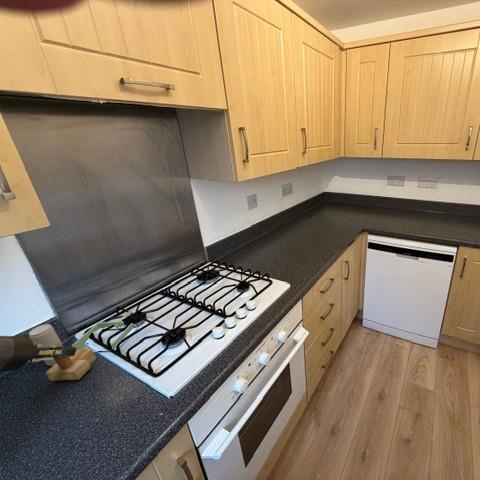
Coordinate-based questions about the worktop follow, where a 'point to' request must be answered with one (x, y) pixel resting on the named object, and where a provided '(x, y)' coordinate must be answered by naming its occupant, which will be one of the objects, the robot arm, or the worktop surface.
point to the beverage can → (45, 338)
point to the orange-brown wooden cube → (84, 355)
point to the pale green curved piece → (81, 342)
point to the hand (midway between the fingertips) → (68, 352)
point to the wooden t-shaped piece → (67, 368)
